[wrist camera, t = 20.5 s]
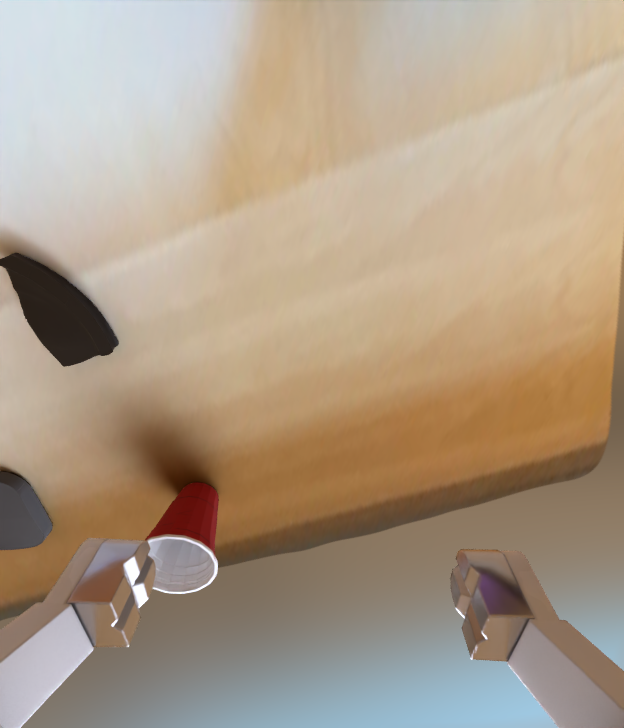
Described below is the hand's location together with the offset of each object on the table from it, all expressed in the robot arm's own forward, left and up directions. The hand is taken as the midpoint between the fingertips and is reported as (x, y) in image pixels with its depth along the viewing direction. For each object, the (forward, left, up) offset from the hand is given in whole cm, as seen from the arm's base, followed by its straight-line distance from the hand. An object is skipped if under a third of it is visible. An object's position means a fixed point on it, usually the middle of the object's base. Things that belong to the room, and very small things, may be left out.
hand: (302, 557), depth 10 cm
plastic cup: (+15, -36, -34) cm, 52 cm away
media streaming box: (-4, -63, -34) cm, 72 cm away
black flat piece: (-15, -26, -34) cm, 45 cm away
